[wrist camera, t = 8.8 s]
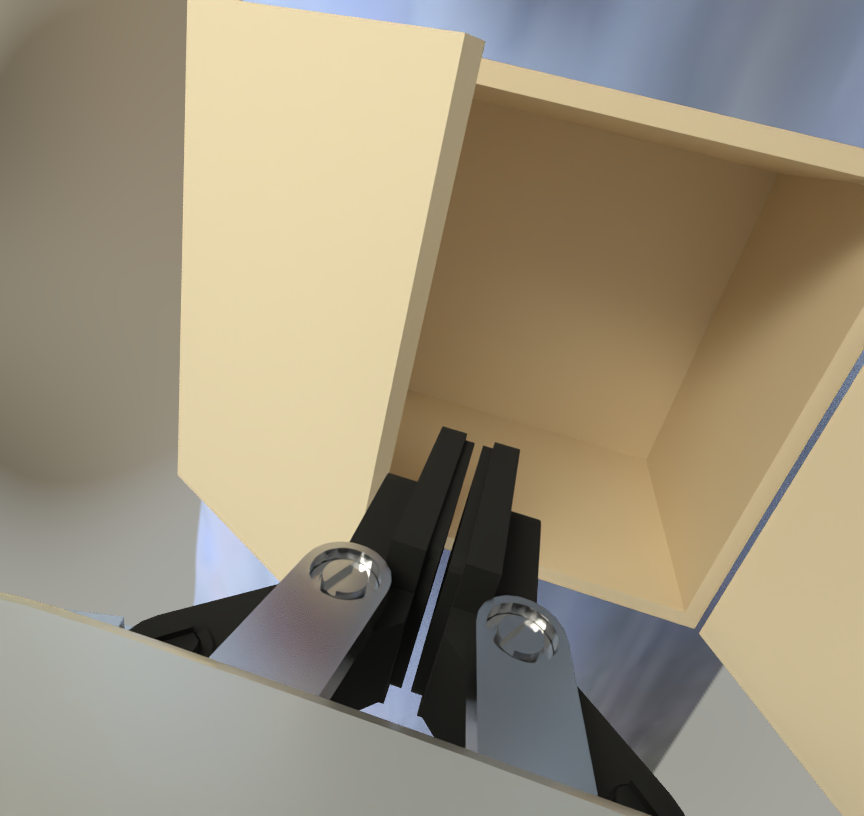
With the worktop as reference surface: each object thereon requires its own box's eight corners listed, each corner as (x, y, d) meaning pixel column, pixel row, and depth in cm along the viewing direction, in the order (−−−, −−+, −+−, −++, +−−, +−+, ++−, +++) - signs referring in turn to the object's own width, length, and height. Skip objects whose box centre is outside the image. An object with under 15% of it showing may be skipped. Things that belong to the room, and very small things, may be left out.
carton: (357, 55, 27) (217, -5, 16) (794, 161, 25) (970, 173, 14) (314, 366, 34) (198, 469, 23) (651, 467, 32) (694, 628, 21)
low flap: (209, 0, 16) (187, -7, 15) (485, 41, 10) (465, 33, 10) (192, 470, 23) (177, 474, 22) (353, 632, 17) (338, 642, 17)
